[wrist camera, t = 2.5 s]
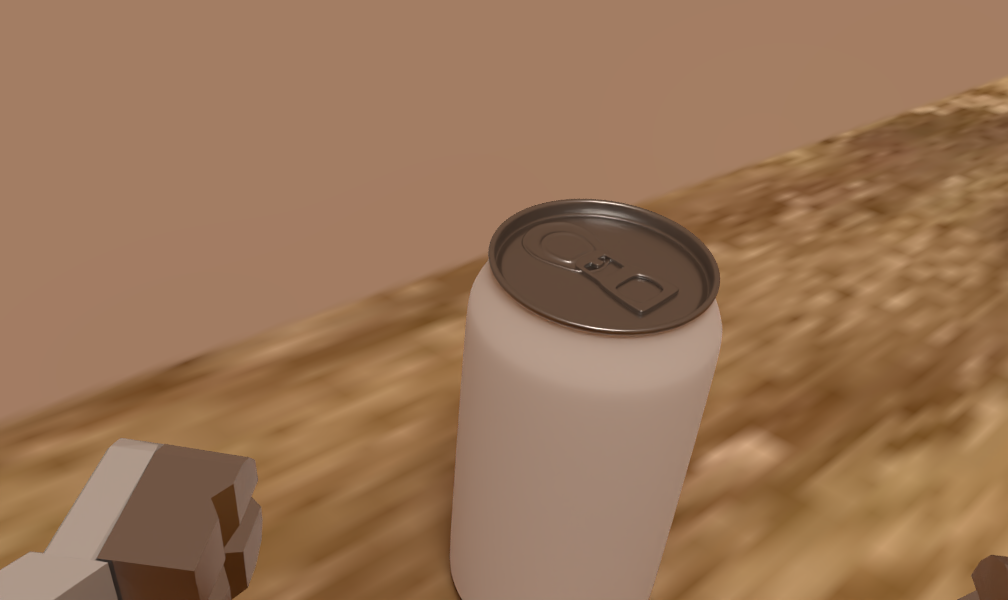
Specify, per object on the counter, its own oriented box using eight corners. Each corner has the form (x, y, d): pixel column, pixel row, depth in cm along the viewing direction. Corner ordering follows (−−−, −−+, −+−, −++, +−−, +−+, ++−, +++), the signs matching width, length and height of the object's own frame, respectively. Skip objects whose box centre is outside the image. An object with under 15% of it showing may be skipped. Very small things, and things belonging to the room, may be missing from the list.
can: (545, 462, 34) (591, 166, 26) (692, 577, 30) (790, 271, 23) (405, 560, 30) (414, 244, 22) (554, 704, 26) (621, 385, 19)
